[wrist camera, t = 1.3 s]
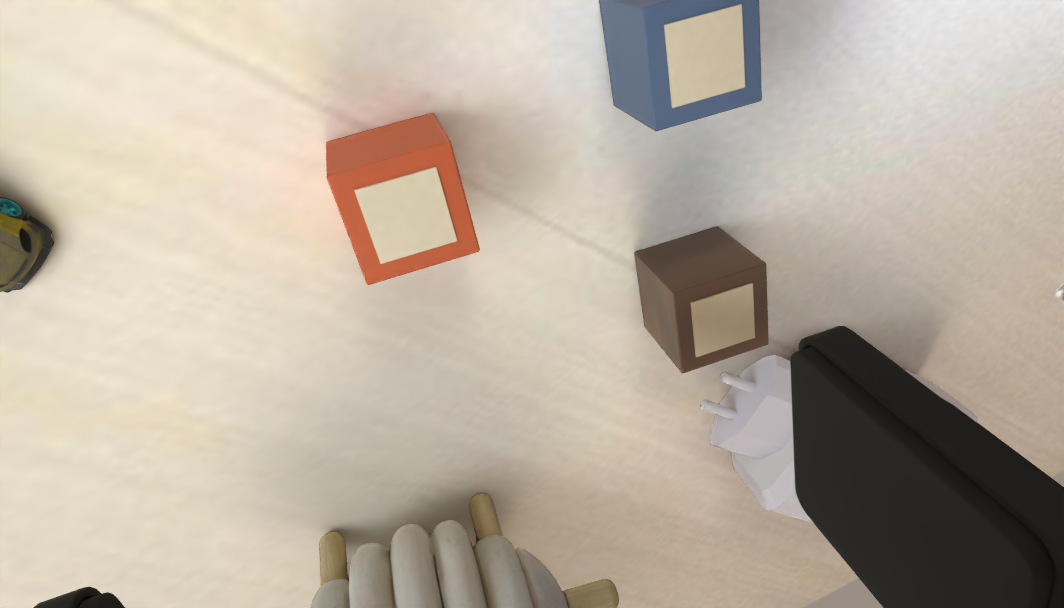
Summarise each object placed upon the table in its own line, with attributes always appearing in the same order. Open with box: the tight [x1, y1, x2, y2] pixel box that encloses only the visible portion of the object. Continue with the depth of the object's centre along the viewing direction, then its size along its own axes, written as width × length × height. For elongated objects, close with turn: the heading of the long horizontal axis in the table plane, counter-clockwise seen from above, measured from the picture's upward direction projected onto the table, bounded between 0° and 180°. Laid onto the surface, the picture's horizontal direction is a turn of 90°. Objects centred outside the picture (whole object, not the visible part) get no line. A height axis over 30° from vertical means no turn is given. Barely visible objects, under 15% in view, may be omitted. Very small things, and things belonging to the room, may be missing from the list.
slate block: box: [599, 0, 762, 131], centre depth 26 cm, size 4×4×4 cm
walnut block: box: [634, 227, 768, 373], centre depth 31 cm, size 4×4×4 cm
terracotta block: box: [326, 113, 480, 285], centre depth 26 cm, size 4×4×4 cm
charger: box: [700, 355, 977, 523], centre depth 37 cm, size 5×9×15 cm
